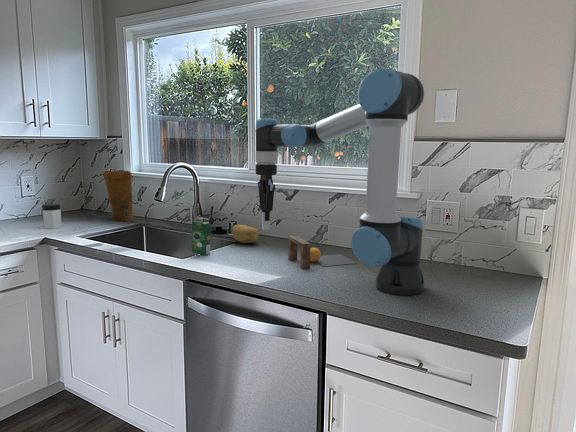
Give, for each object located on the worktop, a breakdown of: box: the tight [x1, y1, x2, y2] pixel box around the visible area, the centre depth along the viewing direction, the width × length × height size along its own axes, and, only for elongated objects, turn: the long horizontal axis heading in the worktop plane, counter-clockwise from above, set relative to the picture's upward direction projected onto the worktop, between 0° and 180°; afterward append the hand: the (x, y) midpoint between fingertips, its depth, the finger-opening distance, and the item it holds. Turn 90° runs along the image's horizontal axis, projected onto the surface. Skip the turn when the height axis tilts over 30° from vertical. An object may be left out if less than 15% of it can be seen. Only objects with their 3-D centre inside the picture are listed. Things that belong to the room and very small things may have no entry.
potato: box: [231, 224, 259, 244], centre depth 200 cm, size 10×14×8 cm
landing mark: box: [316, 253, 358, 268], centre depth 173 cm, size 14×14×1 cm
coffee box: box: [191, 220, 211, 256], centre depth 180 cm, size 8×3×13 cm, turn 57°
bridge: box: [287, 234, 312, 270], centre depth 167 cm, size 3×14×9 cm, turn 21°
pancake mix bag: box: [102, 170, 134, 223], centre depth 249 cm, size 7×19×28 cm, turn 64°
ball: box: [310, 247, 322, 263], centre depth 170 cm, size 6×6×6 cm
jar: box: [41, 202, 63, 230], centre depth 228 cm, size 9×8×12 cm
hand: (265, 229), depth 161 cm, fingers closed
